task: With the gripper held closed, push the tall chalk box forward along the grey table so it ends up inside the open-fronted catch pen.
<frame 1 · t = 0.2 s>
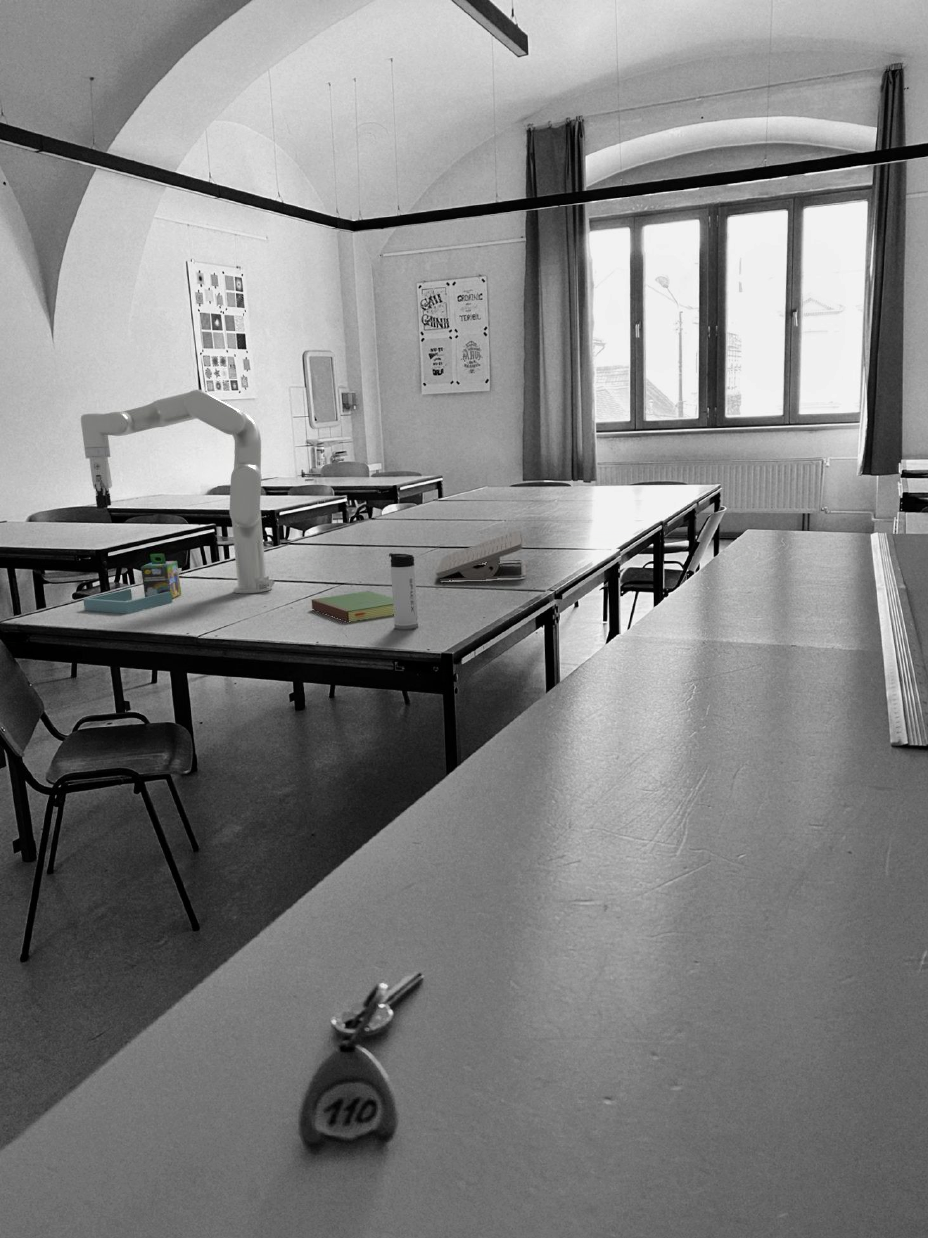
hand: (104, 506, 317), 31 cm above the table, tool pointing down, fingers open, 9 cm apart
foot rest: (482, 574, 345), on the table
travel mug: (405, 628, 263), on the table
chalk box: (163, 598, 326), on the table
catch pen: (130, 605, 314), on the table
hardcover book: (359, 614, 288), on the table
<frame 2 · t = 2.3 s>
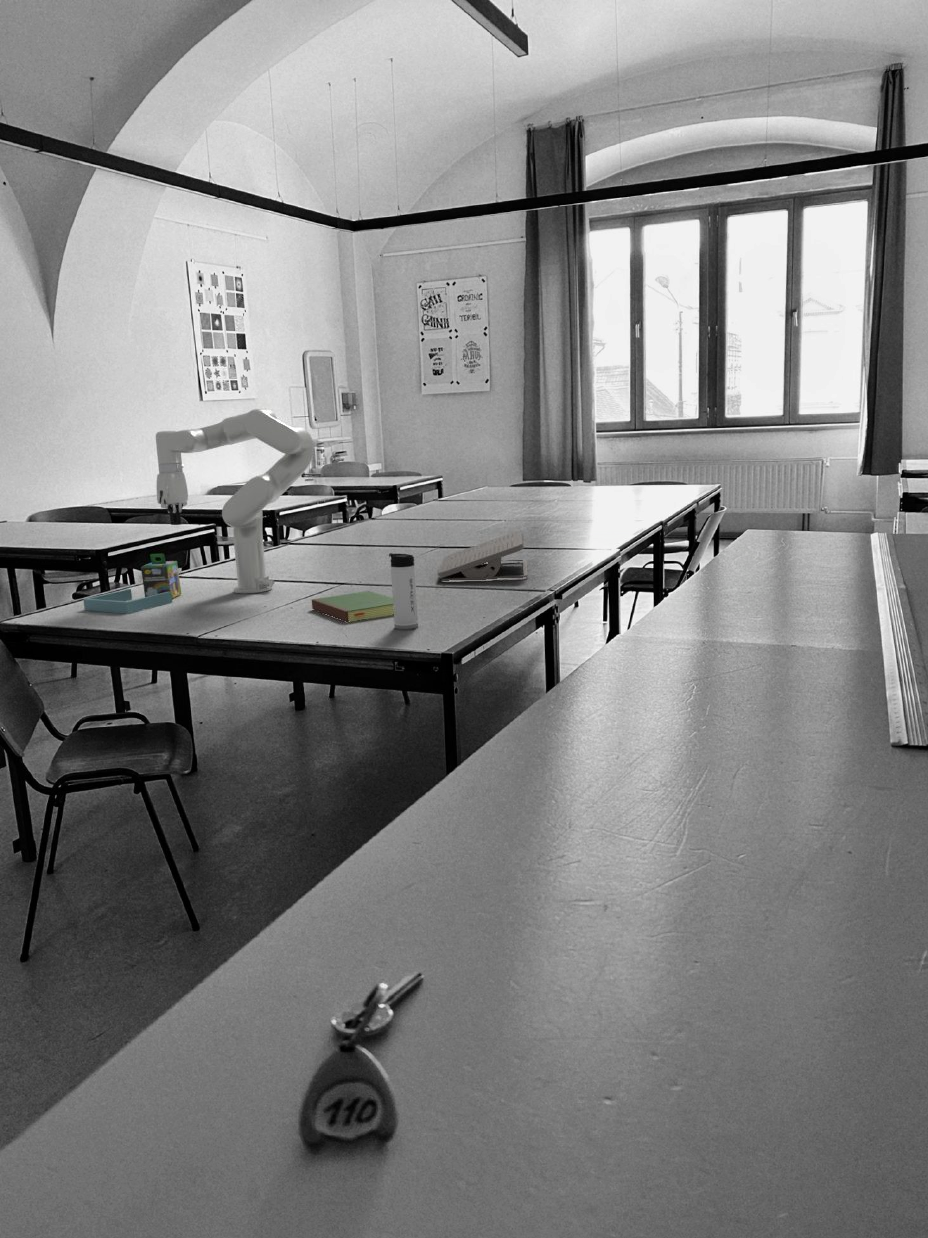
hand: (176, 524, 329), 23 cm above the table, tool pointing down, fingers closed
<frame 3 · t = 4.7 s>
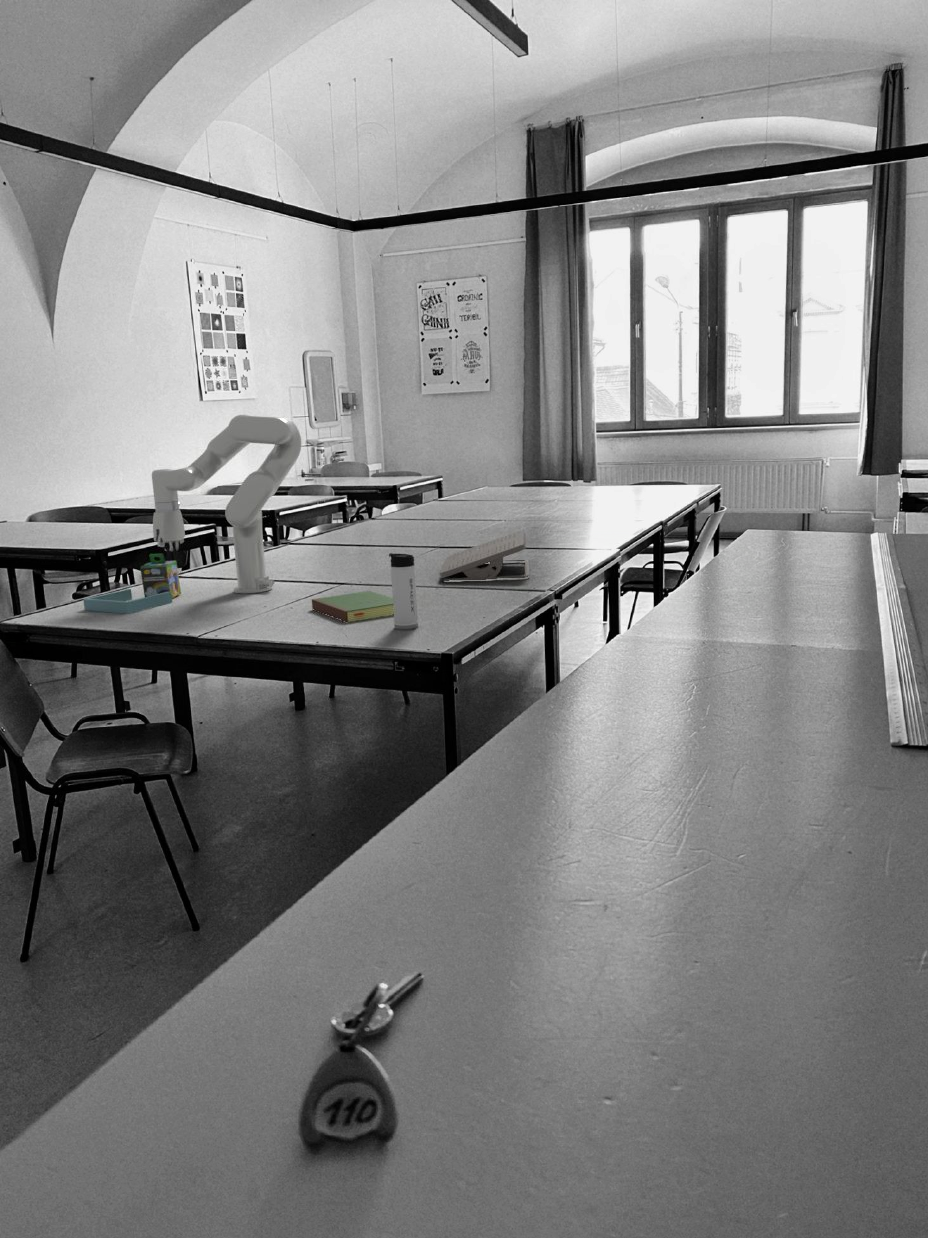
hand: (173, 562, 329), 11 cm above the table, tool pointing down, fingers closed
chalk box: (163, 598, 326), on the table, touching gripper
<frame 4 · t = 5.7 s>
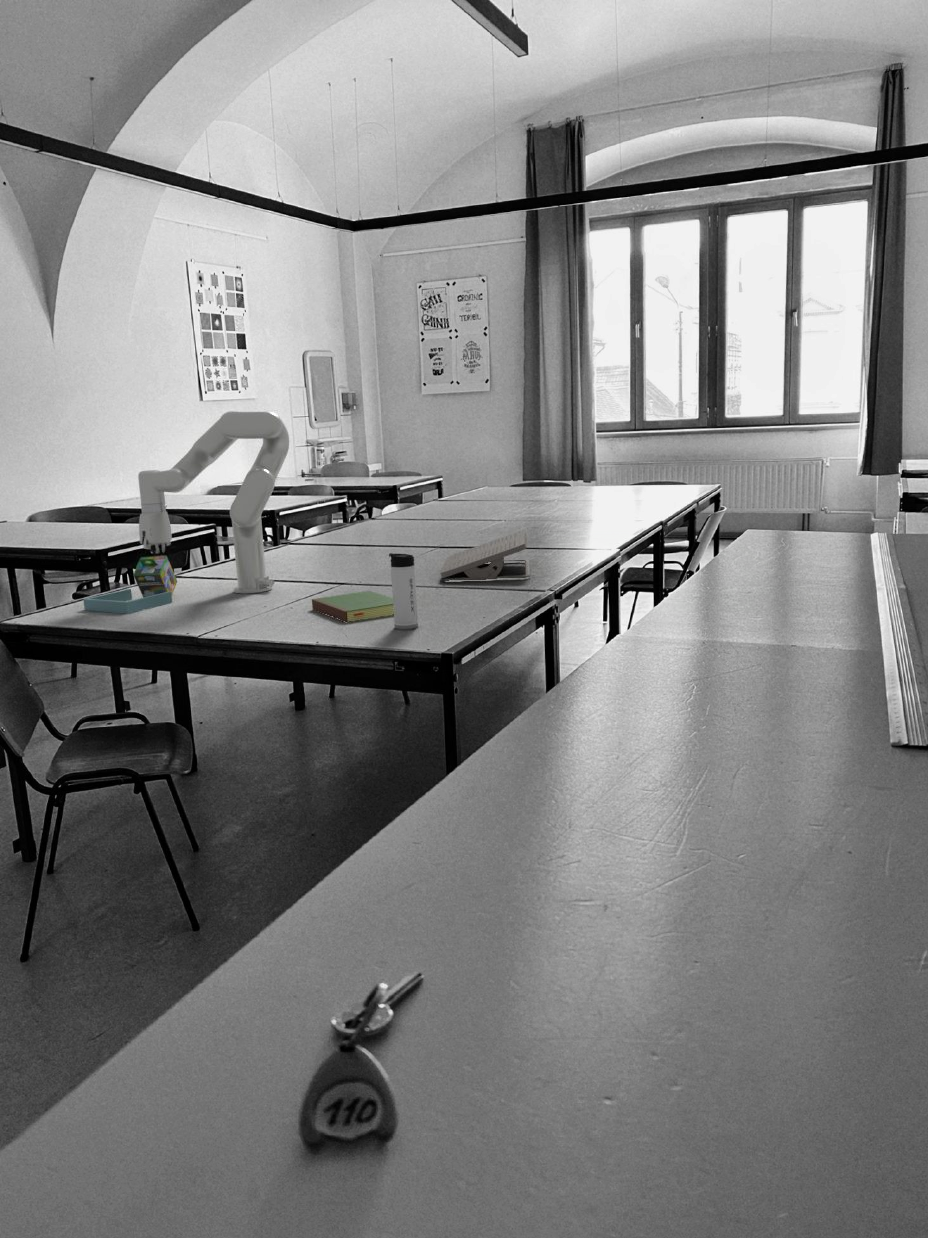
hand: (159, 564, 324), 11 cm above the table, tool pointing down, fingers closed
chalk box: (161, 591, 325), point 2 cm above the table, touching gripper
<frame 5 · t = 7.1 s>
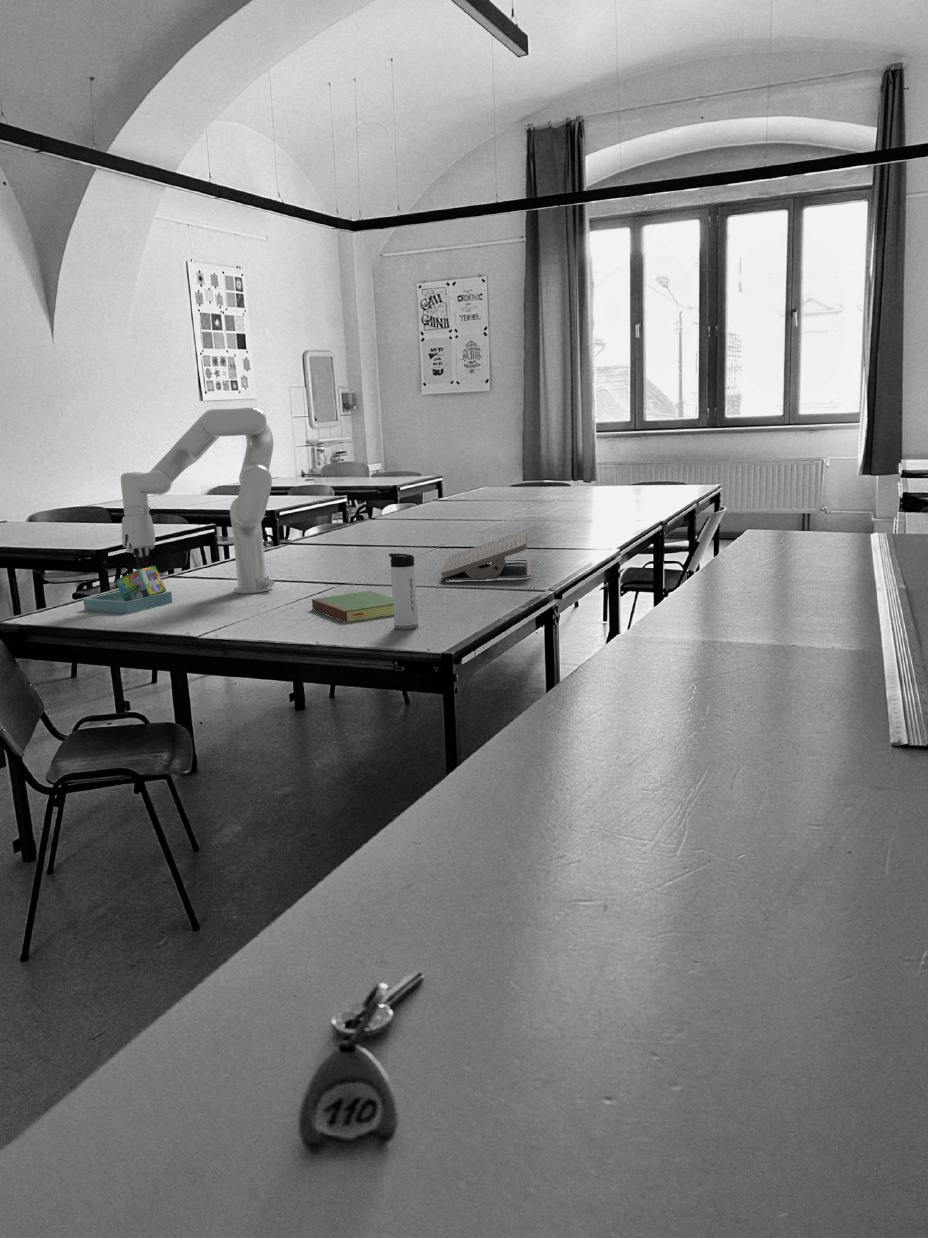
hand: (142, 568, 318), 11 cm above the table, tool pointing down, fingers closed
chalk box: (150, 583, 321), point 6 cm above the table, touching catch pen, gripper
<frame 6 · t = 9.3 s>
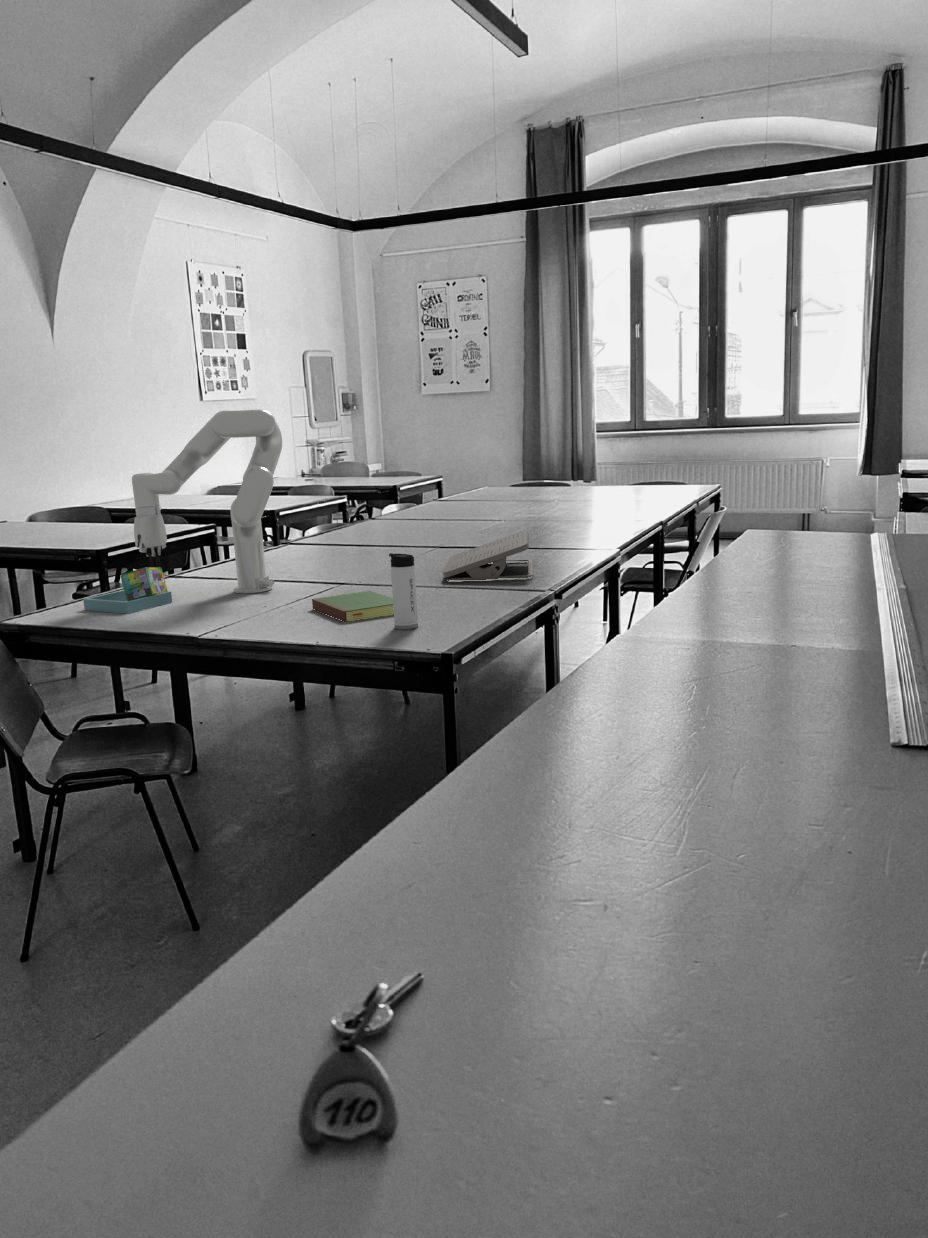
hand: (155, 567, 322), 10 cm above the table, tool pointing down, fingers closed
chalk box: (152, 584, 321), point 5 cm above the table, touching catch pen
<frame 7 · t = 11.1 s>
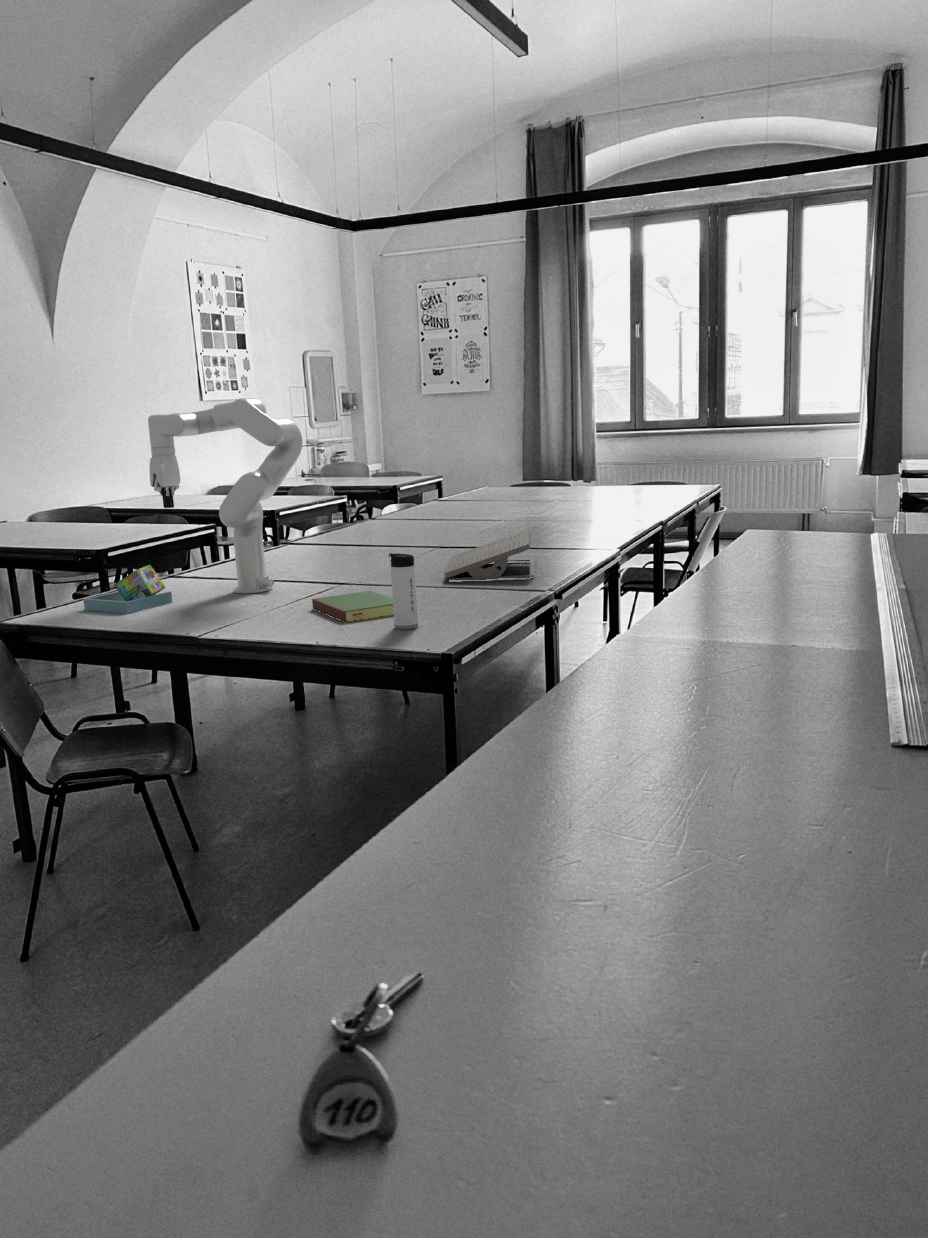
hand: (168, 507, 332), 28 cm above the table, tool pointing down, fingers closed
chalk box: (147, 582, 321), point 6 cm above the table, touching catch pen
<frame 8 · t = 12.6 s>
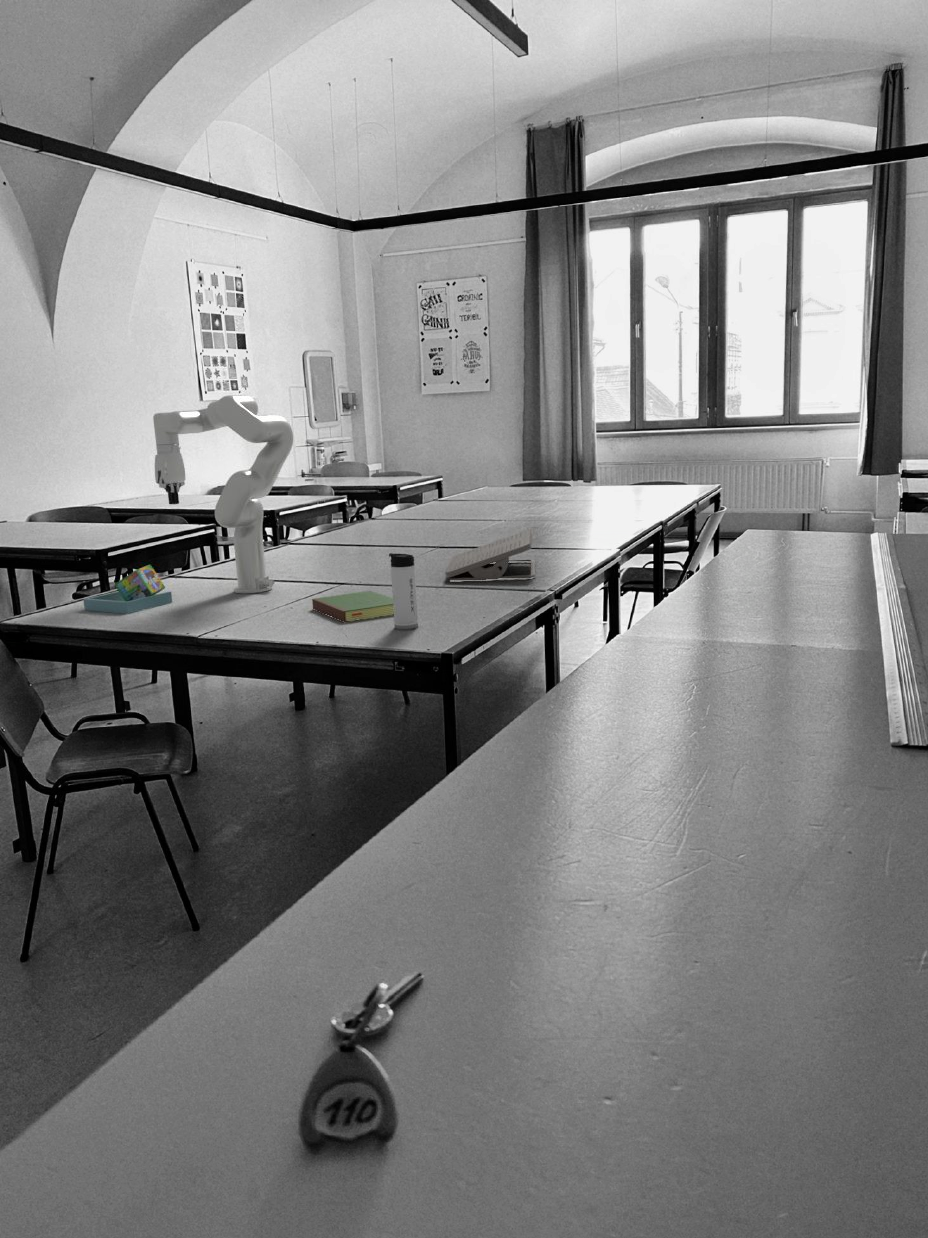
hand: (174, 503, 338), 29 cm above the table, tool pointing down, fingers closed
at the end: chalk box inside the target area on the catch pen (7.6 cm from its centre), point 5.9 cm above the catch pen's base; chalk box moved 7.9 cm from its start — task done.
